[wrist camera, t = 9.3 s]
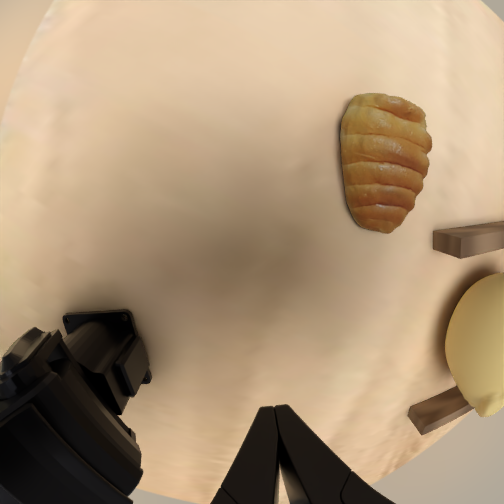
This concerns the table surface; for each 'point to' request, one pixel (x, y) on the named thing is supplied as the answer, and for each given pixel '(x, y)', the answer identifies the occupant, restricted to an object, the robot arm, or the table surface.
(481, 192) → the table surface
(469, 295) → the sculpture
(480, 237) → the frame
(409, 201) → the pastry
